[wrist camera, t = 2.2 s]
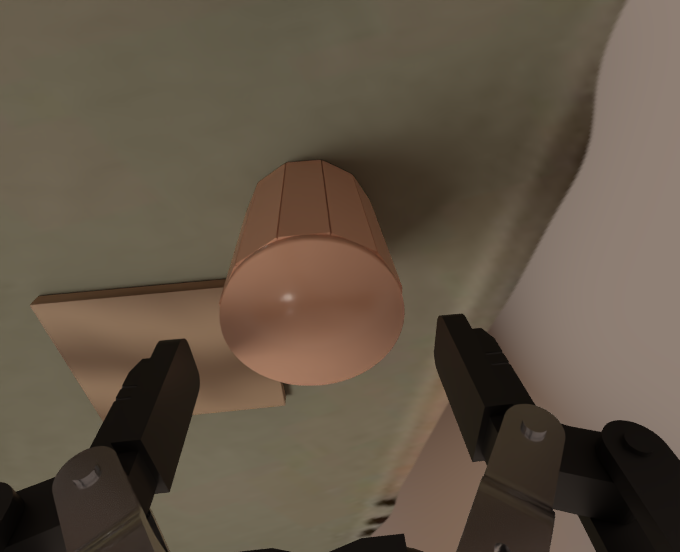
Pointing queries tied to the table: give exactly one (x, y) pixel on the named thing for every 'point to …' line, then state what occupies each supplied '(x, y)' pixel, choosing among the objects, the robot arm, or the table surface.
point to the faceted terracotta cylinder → (311, 279)
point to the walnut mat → (151, 342)
